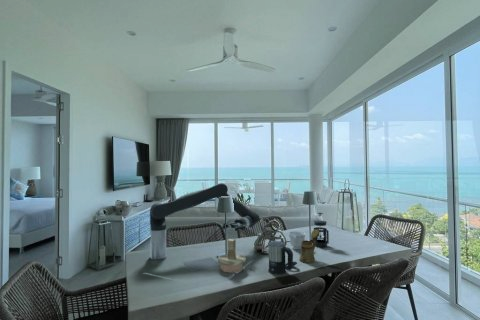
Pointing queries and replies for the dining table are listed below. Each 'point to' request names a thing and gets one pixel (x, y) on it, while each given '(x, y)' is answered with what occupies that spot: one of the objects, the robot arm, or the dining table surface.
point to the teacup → (296, 239)
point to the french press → (318, 240)
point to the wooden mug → (309, 248)
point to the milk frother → (279, 257)
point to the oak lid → (231, 255)
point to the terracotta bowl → (232, 268)
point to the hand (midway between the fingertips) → (229, 228)
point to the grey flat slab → (201, 264)
